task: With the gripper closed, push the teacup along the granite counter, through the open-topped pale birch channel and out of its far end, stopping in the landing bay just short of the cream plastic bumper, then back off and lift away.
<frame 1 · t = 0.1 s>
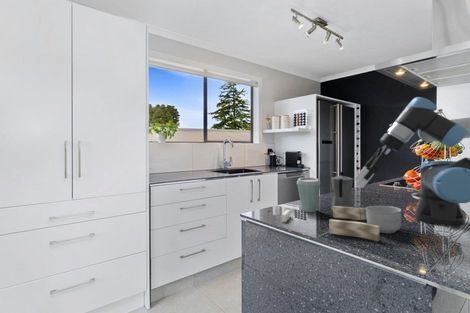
hand: (358, 183, 98), 15 cm above the counter, tool tilted 35°, fingers open, 13 cm apart
channel: (345, 225, 94), on the counter
teacup: (385, 230, 89), on the counter
bumper: (286, 219, 104), on the counter
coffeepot: (341, 211, 114), on the counter
disposable coffee cup: (308, 211, 116), on the counter
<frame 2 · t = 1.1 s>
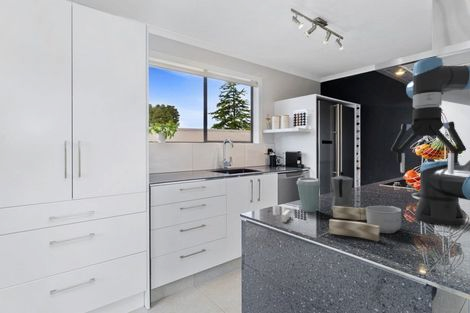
hand: (425, 173, 83), 20 cm above the counter, tool pointing down, fingers open, 12 cm apart
nothing on the counter moved.
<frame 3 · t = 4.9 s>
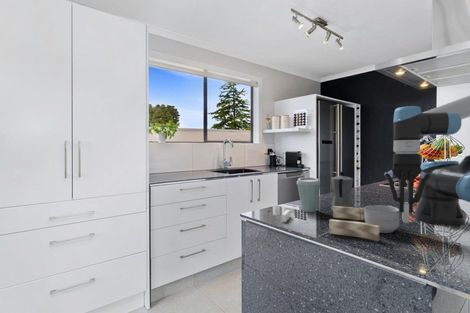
hand: (405, 221, 86), 4 cm above the counter, tool pointing down, fingers closed
teacup: (384, 230, 89), on the counter, touching gripper
everything else where it was.
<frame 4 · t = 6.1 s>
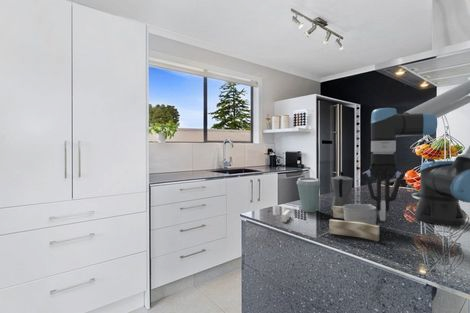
hand: (382, 219, 89), 4 cm above the counter, tool pointing down, fingers closed
teacup: (362, 227, 92), on the counter, touching gripper
everything else where it was.
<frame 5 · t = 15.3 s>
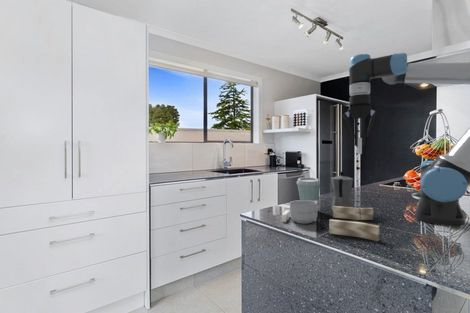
hand: (359, 153, 102), 26 cm above the counter, tool pointing down, fingers closed
teacup: (306, 221, 101), on the counter
everything else where it was.
at the end: teacup inside the target area (1.4 cm from its centre), on the counter; teacup tilted 0° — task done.
